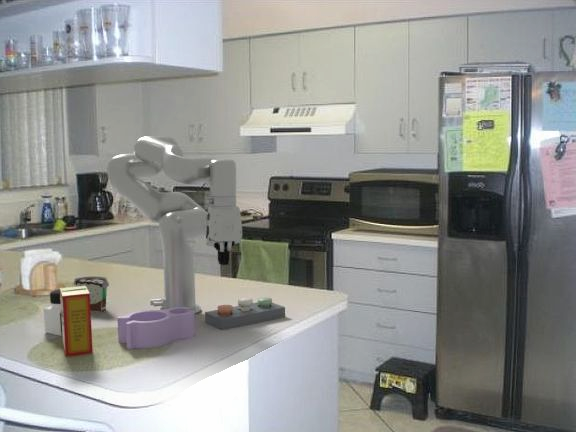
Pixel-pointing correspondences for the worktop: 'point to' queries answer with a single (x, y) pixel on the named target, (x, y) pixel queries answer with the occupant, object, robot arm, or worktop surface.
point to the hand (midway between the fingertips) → (223, 264)
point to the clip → (155, 327)
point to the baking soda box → (76, 320)
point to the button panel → (244, 316)
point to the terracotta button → (225, 309)
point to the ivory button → (245, 304)
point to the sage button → (264, 302)
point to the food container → (95, 291)
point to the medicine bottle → (53, 314)
